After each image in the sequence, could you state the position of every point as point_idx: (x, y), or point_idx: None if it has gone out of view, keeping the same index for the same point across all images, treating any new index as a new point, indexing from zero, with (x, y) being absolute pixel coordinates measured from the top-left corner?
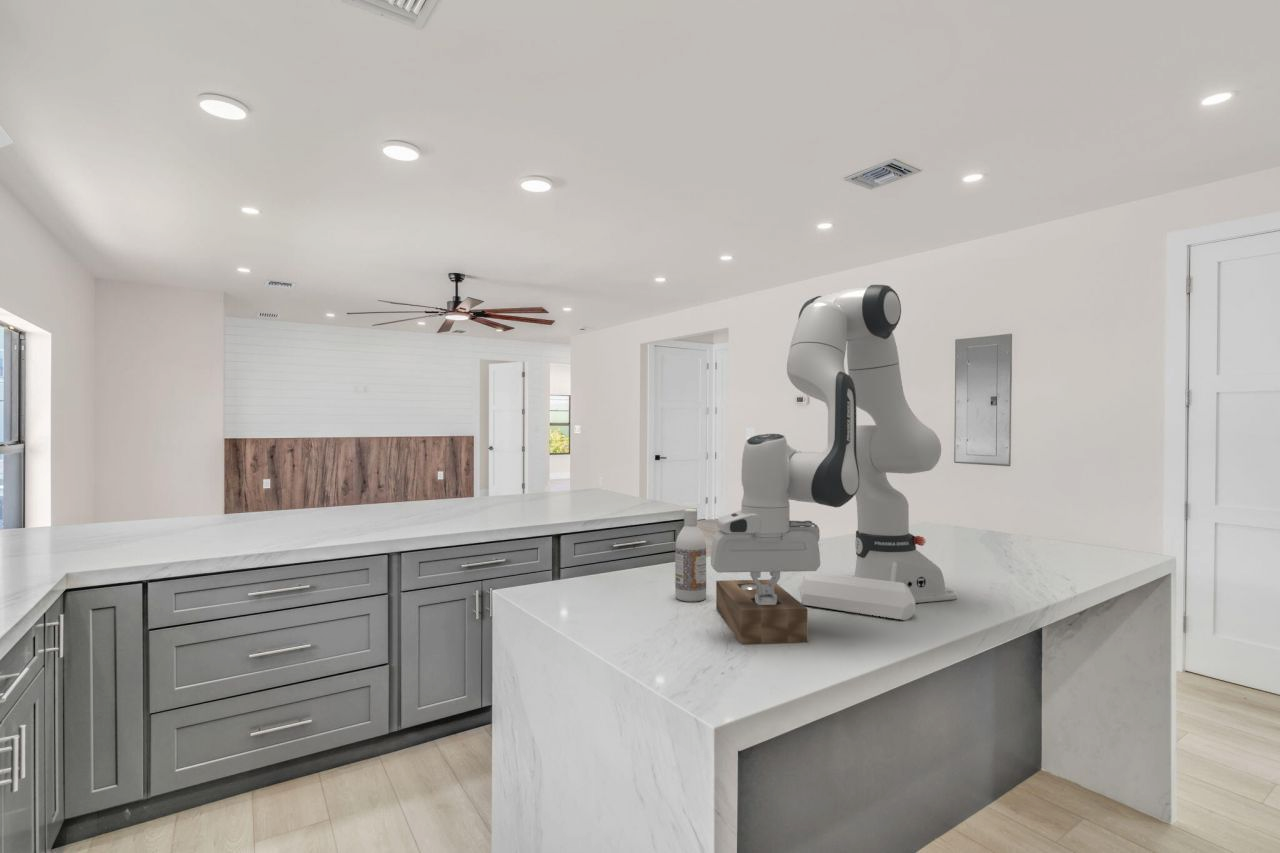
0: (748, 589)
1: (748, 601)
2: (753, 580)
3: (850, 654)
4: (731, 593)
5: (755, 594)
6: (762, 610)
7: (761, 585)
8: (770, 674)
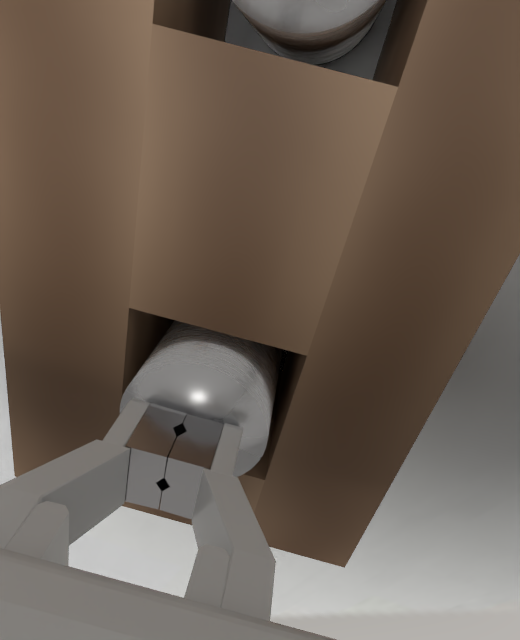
0: (236, 2)
1: (93, 371)
2: (54, 467)
3: (392, 551)
4: (21, 134)
5: (129, 390)
6: None
7: (115, 508)
8: (107, 552)
